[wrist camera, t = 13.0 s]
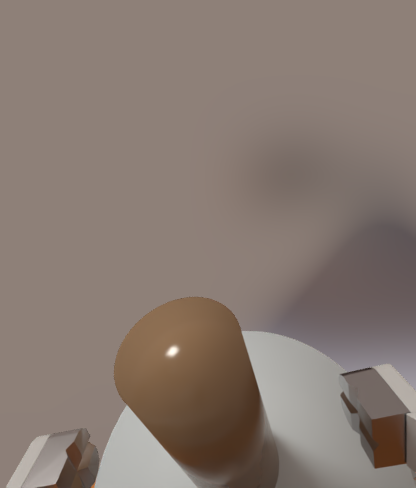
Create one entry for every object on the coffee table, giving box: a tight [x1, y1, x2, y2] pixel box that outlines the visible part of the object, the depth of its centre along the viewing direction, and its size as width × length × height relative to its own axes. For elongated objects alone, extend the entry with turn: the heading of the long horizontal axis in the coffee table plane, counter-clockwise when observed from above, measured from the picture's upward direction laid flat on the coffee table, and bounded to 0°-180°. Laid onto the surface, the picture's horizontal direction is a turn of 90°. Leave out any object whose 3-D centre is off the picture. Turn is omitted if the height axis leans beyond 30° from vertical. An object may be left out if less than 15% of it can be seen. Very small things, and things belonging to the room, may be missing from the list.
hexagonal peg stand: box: [95, 297, 416, 488], centre depth 12 cm, size 15×15×14 cm
